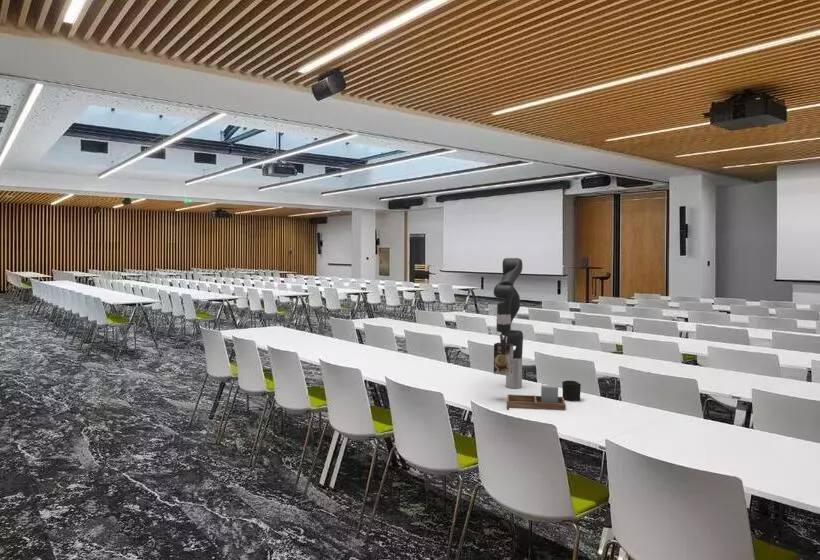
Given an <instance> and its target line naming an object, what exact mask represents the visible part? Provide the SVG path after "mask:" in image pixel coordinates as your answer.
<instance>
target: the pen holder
mask: <svg viewBox="0 0 820 560" xmlns="http://www.w3.org/2000/svg"><path fill="white" fill-rule="evenodd" d="M561 385H562V397H563V398H564V401H566V402H579V401H581V388H582V384H581V383H579V382H578V381H576V380H564V381H561Z"/></svg>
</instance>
